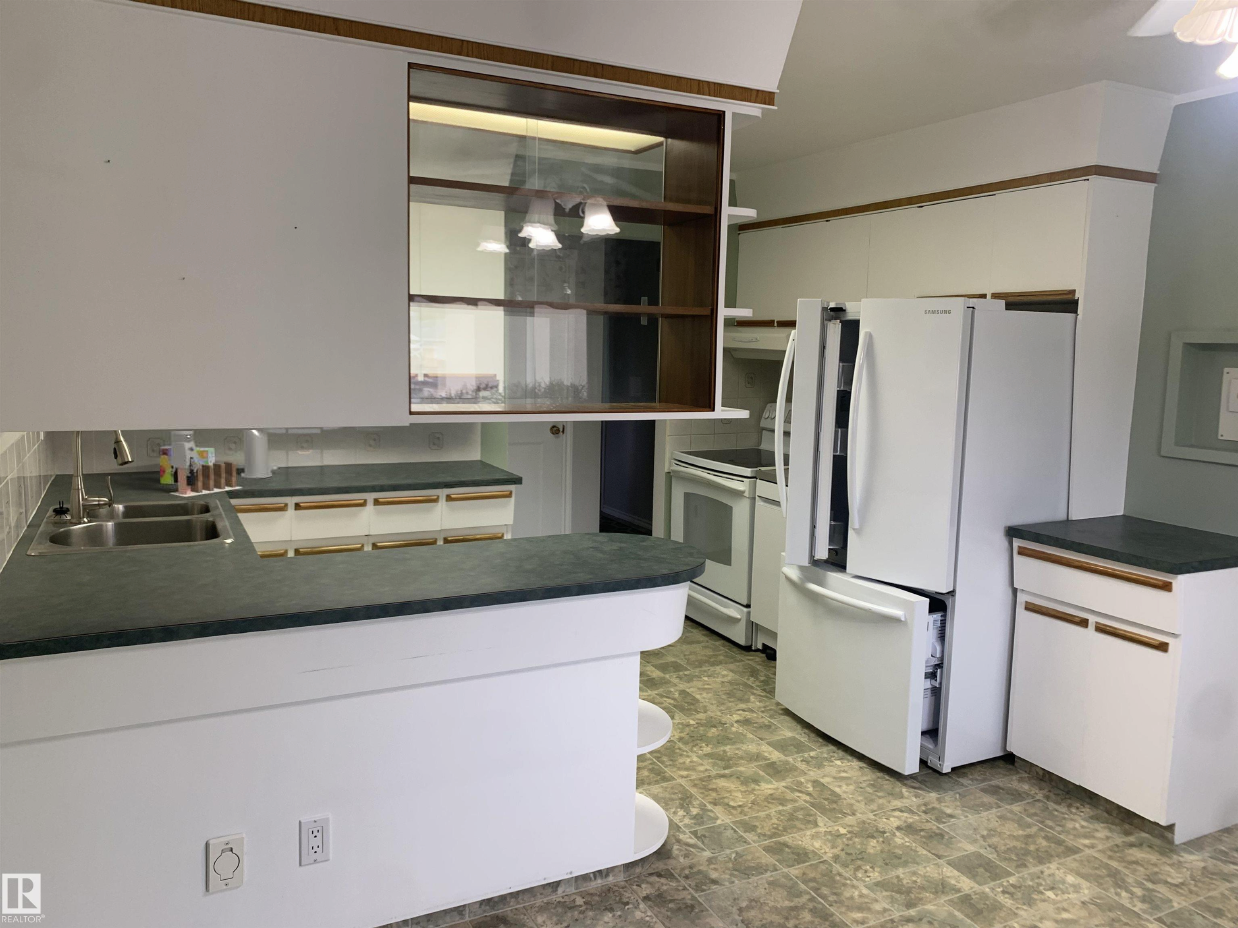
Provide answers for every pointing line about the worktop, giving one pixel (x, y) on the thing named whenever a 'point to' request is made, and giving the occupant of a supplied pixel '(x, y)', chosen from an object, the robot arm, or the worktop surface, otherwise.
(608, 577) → the worktop surface
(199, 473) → the domino
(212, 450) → the snack box
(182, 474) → the domino
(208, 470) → the domino
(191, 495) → the domino mat
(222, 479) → the domino
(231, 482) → the domino
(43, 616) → the worktop surface
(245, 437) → the robot arm
